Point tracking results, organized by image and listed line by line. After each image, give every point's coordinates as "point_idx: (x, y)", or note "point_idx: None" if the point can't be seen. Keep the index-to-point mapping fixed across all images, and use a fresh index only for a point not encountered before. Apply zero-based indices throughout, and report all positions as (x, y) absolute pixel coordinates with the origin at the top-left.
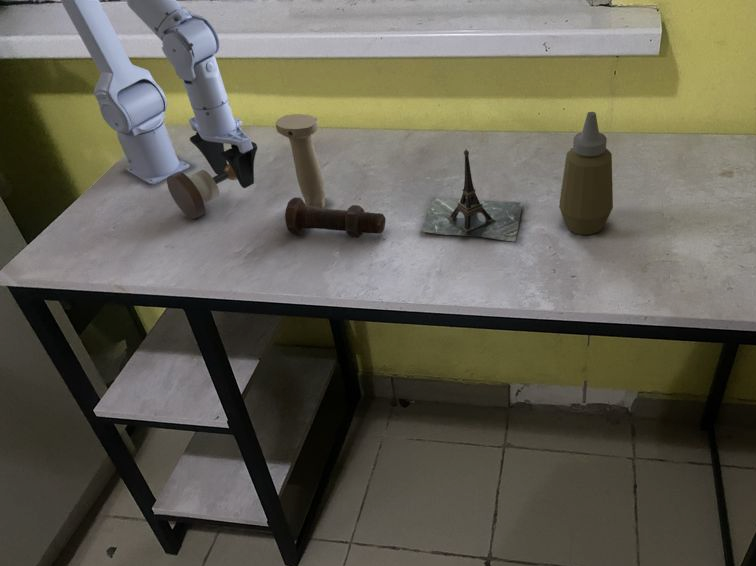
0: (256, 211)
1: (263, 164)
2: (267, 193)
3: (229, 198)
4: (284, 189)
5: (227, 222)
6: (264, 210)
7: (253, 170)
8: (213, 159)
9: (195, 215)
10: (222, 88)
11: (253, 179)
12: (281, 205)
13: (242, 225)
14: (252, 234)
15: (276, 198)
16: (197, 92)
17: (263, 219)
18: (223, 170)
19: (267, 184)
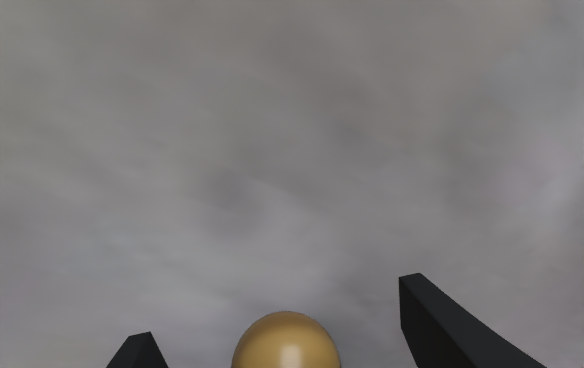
0: (472, 265)
1: (26, 34)
2: (390, 174)
3: (289, 310)
4: (433, 87)
5: None
6: (496, 240)
7: (484, 324)
8: None
9: None
10: None
11: (434, 286)
12: (535, 170)
13: (500, 327)
14: (574, 319)
15: (467, 161)
16: None
17: (542, 265)
18: (158, 360)
19: (308, 135)
